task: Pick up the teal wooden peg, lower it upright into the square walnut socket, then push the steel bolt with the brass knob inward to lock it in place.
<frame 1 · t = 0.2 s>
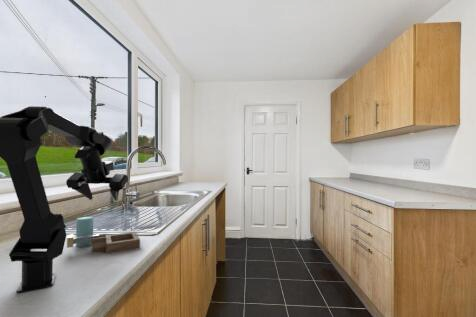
hand: (104, 199, 90), 15 cm above the worktop, tool tilted 30°, fingers open, 9 cm apart
cork: (36, 241, 89), on the worktop
dock: (122, 246, 85), on the worktop
peg: (84, 244, 86), on the worktop
lock bolt: (83, 239, 79), point 4 cm above the worktop, slide at 0.0 cm
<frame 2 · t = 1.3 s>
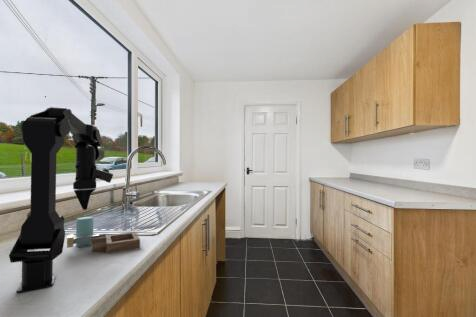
hand: (85, 207, 86), 13 cm above the worktop, tool pointing down, fingers open, 9 cm apart
nothing on the worktop moved.
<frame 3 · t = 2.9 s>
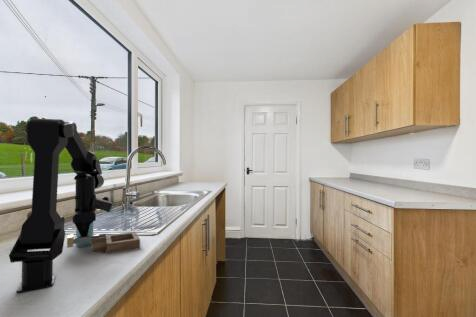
hand: (84, 237, 86), 3 cm above the worktop, tool pointing down, fingers closed on peg, 5 cm apart
peg: (84, 244, 86), on the worktop, touching gripper
everything else where it was.
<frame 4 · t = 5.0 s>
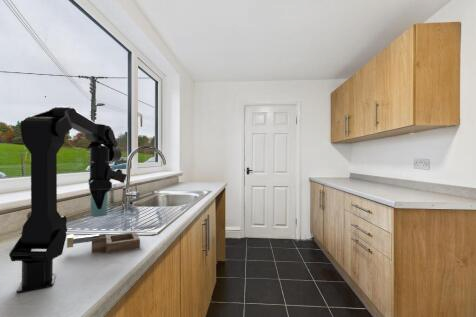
hand: (99, 207, 85), 13 cm above the worktop, tool pointing down, fingers closed on peg, 5 cm apart
peg: (98, 215, 85), point 10 cm above the worktop, touching gripper
everything else where it was.
when the fingers open (4 cm above the worktop, at t = 7.5 s): peg drops 2 cm, resting in dock.
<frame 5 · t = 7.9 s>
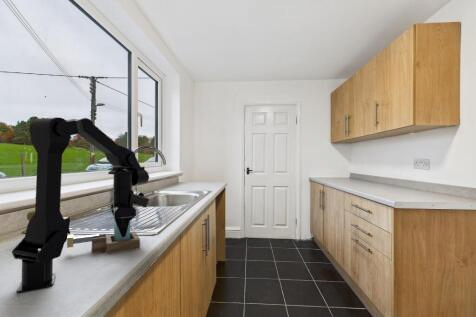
hand: (122, 233, 85), 4 cm above the worktop, tool pointing down, fingers open, 9 cm apart
peg: (122, 246, 85), resting in dock
everything else where it was.
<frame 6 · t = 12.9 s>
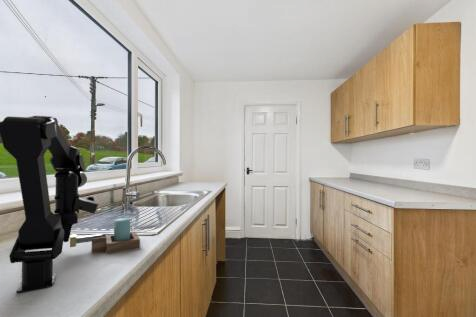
hand: (66, 241, 77), 4 cm above the worktop, tool pointing down, fingers closed, pressing on lock bolt
lock bolt: (86, 238, 79), point 4 cm above the worktop, slide at 0.8 cm, touching gripper
everything else where it was.
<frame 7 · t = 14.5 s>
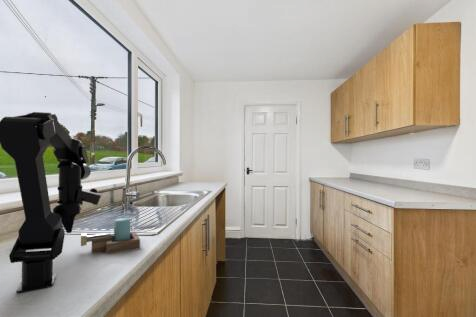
hand: (69, 232, 77), 7 cm above the worktop, tool pointing down, fingers closed
lock bolt: (96, 237, 81), point 4 cm above the worktop, slide at 3.6 cm
everything else where it was.
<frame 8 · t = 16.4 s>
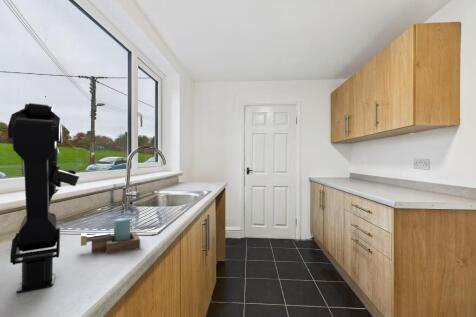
hand: (45, 214, 74), 13 cm above the worktop, tool pointing down, fingers closed
nothing on the worktop moved.
at the end: peg 0.0 cm off-centre on the dock, point 0.0 cm above the dock's base; peg tilted 0°; lock bolt slide at 3.6 cm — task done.
